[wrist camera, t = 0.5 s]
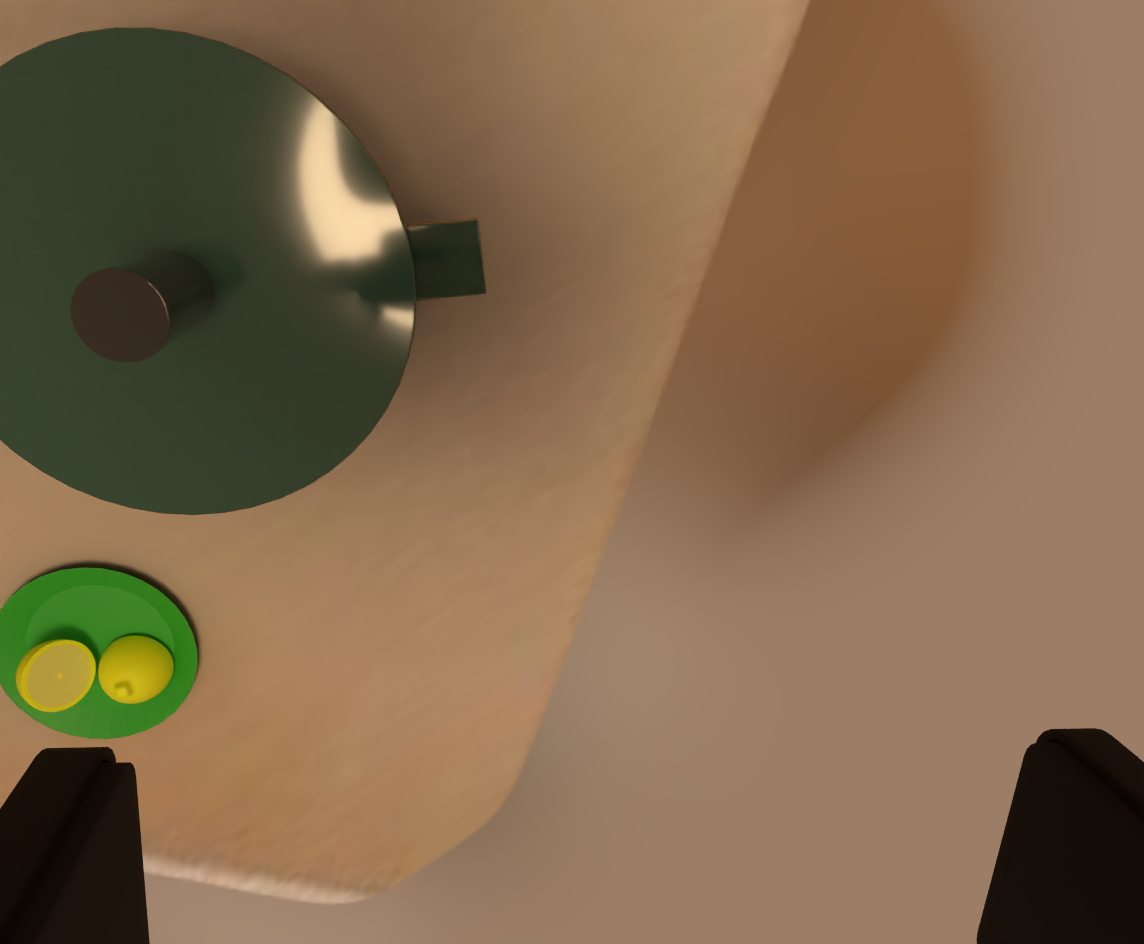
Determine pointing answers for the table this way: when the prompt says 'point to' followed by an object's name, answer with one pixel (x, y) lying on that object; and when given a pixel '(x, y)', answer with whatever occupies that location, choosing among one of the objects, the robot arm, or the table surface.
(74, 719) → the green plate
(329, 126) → the pot lid
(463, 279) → the pot
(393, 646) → the table surface
